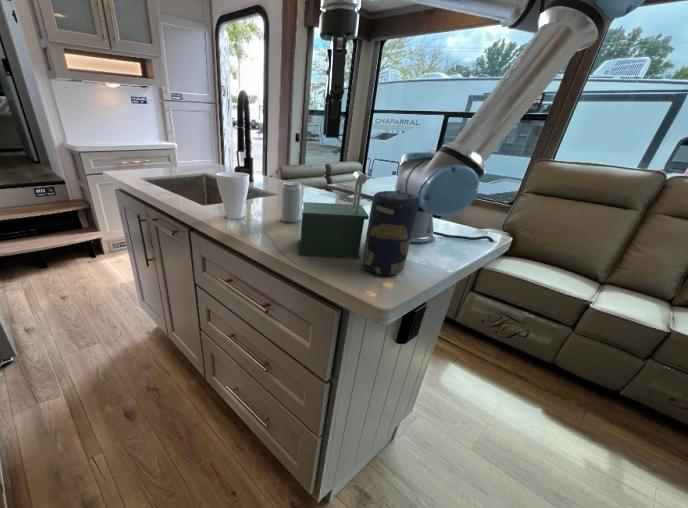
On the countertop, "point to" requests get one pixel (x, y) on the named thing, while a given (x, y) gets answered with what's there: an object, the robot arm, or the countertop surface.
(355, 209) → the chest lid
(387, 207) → the canister
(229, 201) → the cup
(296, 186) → the beverage can
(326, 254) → the chest
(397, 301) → the countertop surface
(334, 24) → the robot arm
